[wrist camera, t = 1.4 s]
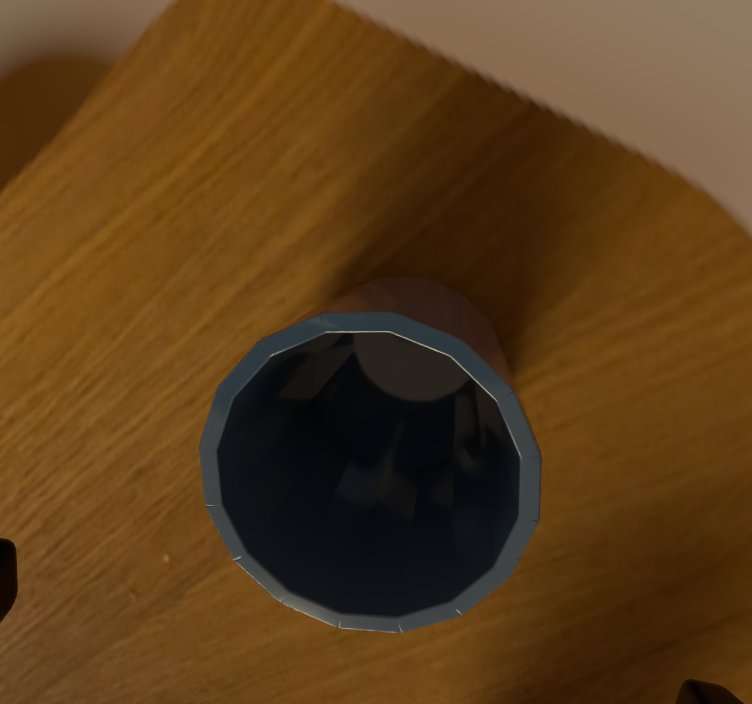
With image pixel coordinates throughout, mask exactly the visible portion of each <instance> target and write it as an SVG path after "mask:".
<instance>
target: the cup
mask: <svg viewBox="0 0 752 704" xmlns="http://www.w3.org/2000/svg"><path fill="white" fill-rule="evenodd" d="M199 451H200V461H201V470H202V479H203V488H204V498H205V505H206V508H207V510H208V512H209V514H210V516H211V518H212V520H213V522H214V524H215V526H216V528H217V529H218V531H219V533H220V535H221V537H222V539H223V541H224V543H225V545H226V547H227V549H228V550H229V552H230V554H231V556H232V558H233V560H235V562H236V563H237V564H238V565H239V566H240V567H241V568H242V569H243V570H244V571H245V572H247V573H248V574H249V575H250V576H251V577H252V578H253V579H254V580H255V581H256V582H257V583H259V584H260V585H261V586H262V587H263V588H264V589H265V590H266V591H267V592H268V593H269V594H271V595H272V596H273V597H274V598H275V599H276V600H277V601H278V602H281V604H283V605H285V606H287V607H290V608H292V609H294V610H297V611H299V612H301V613H304V614H306V615H308V616H310V617H313V618H315V619H317V620H320V621H322V622H324V623H327V624H329V625H331V626H333V627H336V628H338V627H339V628H340V629H350V630H363V631H377V632H390V633H401V632H402V633H404V632H408V631H411V630H415V629H418V628H422V627H425V626H428V625H432V624H435V623H439V622H442V621H446V620H449V619H453V618H456V617H459V616H461V615H463V614H465V613H466V612H467V611H468V610H470V609H471V608H472V607H473V606H475V605H476V604H477V603H478V602H480V601H481V600H482V599H484V598H485V597H486V596H487V595H489V594H490V593H491V592H492V591H494V590H495V589H496V588H497V587H499V586H500V585H501V584H502V583H504V582H505V581H506V580H507V579H509V577H510V576H511V575H512V573H513V571H514V569H515V567H516V565H517V563H518V561H519V559H520V557H521V556H522V554H523V552H524V550H525V548H526V546H527V544H528V542H529V540H530V538H531V536H532V534H533V532H534V530H535V528H536V526H537V524H538V520H539V518H540V493H541V463H542V456H541V451H540V449H539V446H538V443H537V440H536V438H535V435H534V432H533V429H532V426H531V424H530V421H529V418H528V415H527V413H526V410H525V407H524V404H523V402H522V399H521V396H520V393H519V391H518V388H517V385H516V382H515V379H514V377H513V374H512V371H511V368H510V366H509V363H508V360H507V358H506V355H505V353H504V351H503V348H502V346H501V343H500V341H499V338H498V336H497V334H496V331H495V329H494V327H493V324H492V323H491V321H490V320H489V319H488V318H486V316H485V315H484V314H483V313H482V312H481V311H480V309H479V308H478V307H477V306H476V305H475V304H474V303H472V302H471V301H470V300H469V299H468V298H466V297H465V296H464V295H463V294H461V293H460V292H458V291H456V290H454V289H452V288H450V287H448V286H446V285H444V284H442V283H439V282H436V281H433V280H430V279H425V278H422V277H421V278H420V277H413V276H394V277H385V278H376V279H374V280H371V281H369V282H367V283H364V284H362V285H360V286H358V287H356V288H354V289H351V290H349V291H347V292H345V293H342V294H340V295H339V296H337V297H335V298H333V299H331V300H330V301H328V302H326V303H324V304H323V305H321V306H319V307H317V308H315V309H314V310H312V311H310V312H308V313H306V314H305V315H303V316H301V317H299V318H298V319H296V320H294V321H292V322H290V323H289V324H287V325H285V326H283V327H282V328H280V329H278V330H276V331H274V332H273V333H271V334H269V335H267V336H266V337H264V338H262V339H261V340H260V341H258V342H257V343H256V344H255V345H254V346H253V347H252V349H251V350H250V351H249V352H248V353H247V354H246V355H245V356H244V358H243V359H242V360H241V361H240V362H239V363H238V364H237V365H236V366H235V368H234V369H233V370H232V371H231V372H230V373H229V374H228V375H227V377H226V378H225V379H224V380H223V381H222V382H221V383H220V384H219V386H218V388H217V389H216V392H215V396H214V399H213V402H212V405H211V409H210V412H209V415H208V418H207V421H206V425H205V428H204V431H203V434H202V438H201V441H200V447H199Z"/></svg>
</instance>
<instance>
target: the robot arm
mask: <svg viewBox="0 0 752 704" xmlns="http://www.w3.org/2000/svg"><path fill="white" fill-rule="evenodd" d="M17 592H18V580H17V556H16V547H15V545H14V543H13V542H12V541H10V540H8V539H4V538H0V622H1V621H2V620H3V618H4V617H5V616H6V615H7V613H8V612H9V611H10V609H11V608H12V606H13V604H14V602H15V599H16V597H17ZM675 704H743V703H742V702H741V701H740V700H739V699H738V698H737V697H735V696H734V695H733V694H732V693H731V692H730V691H728V690H727V689H726V688H725V687H723V686H720V685H718V684H713V683H708V682H703V681H698V680H693V679H689V680H686V681H684V683H683V684H682V685H681V688H680V690H679V693H678V697H677V700H676V703H675Z"/></svg>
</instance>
